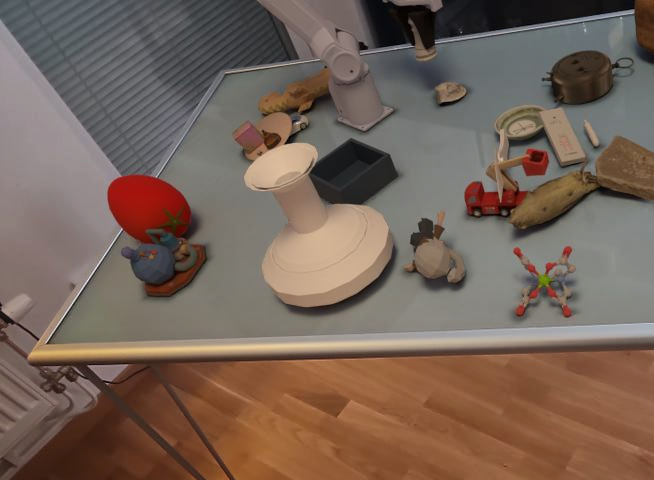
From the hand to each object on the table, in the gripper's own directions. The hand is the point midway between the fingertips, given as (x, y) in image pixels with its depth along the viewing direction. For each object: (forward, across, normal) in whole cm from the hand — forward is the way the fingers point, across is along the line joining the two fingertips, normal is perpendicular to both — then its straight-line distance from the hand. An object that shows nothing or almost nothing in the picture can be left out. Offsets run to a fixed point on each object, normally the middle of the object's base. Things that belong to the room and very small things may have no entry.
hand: (423, 45), depth 115 cm
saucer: (+10, -26, +3) cm, 28 cm away
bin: (+10, -8, +28) cm, 31 cm away
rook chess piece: (+3, 0, 0) cm, 3 cm away
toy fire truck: (+10, -38, +20) cm, 44 cm away
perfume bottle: (+8, +21, +28) cm, 36 cm away
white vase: (+10, -23, +45) cm, 51 cm away
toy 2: (+10, -36, +35) cm, 51 cm away
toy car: (+10, +21, +25) cm, 34 cm away
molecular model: (+8, -60, +30) cm, 67 cm away
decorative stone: (+6, -60, +5) cm, 61 cm away
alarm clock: (+7, -23, -7) cm, 25 cm away
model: (+10, +4, +60) cm, 61 cm away
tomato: (+3, +21, +57) cm, 61 cm away
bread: (-2, -43, -28) cm, 51 cm away
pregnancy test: (+9, -35, +3) cm, 36 cm away
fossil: (+8, -1, +1) cm, 8 cm away
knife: (+3, -34, +18) cm, 39 cm away
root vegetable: (+5, -46, +17) cm, 49 cm away
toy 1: (+8, +30, +24) cm, 39 cm away
